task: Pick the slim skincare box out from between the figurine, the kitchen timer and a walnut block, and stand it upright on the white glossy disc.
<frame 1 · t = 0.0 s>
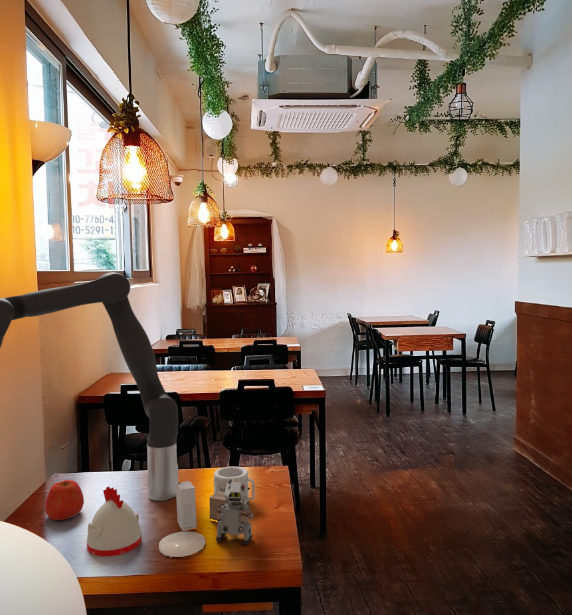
mug: (235, 504, 167), on the table
figurine: (236, 537, 145), on the table
apple: (64, 516, 159), on the table
white glossy disc: (182, 545, 140), on the table
skincare box: (186, 527, 151), on the table
kitchen timer: (114, 543, 142), on the table
walnut block: (221, 518, 156), on the table
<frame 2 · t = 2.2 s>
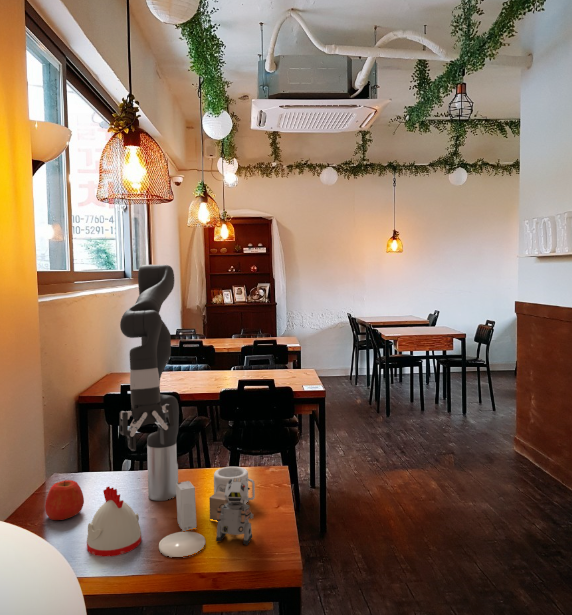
hand: (148, 447, 140), 26 cm above the table, tool pointing down, fingers open, 8 cm apart
nothing on the table moved.
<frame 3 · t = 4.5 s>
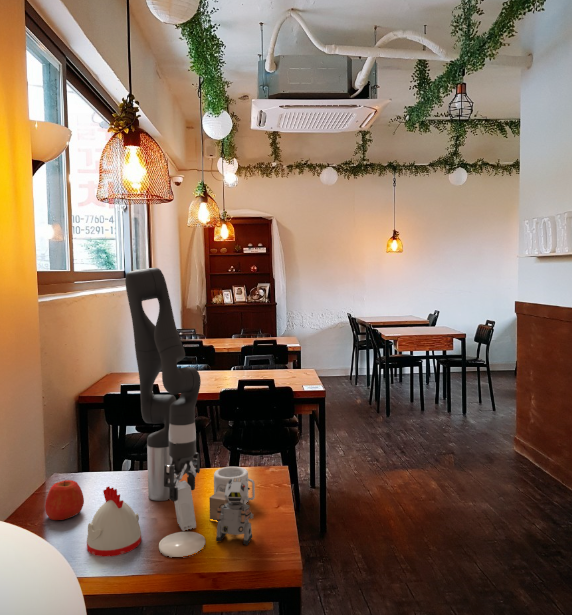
hand: (182, 494, 150), 10 cm above the table, tool pointing down, fingers open, 8 cm apart
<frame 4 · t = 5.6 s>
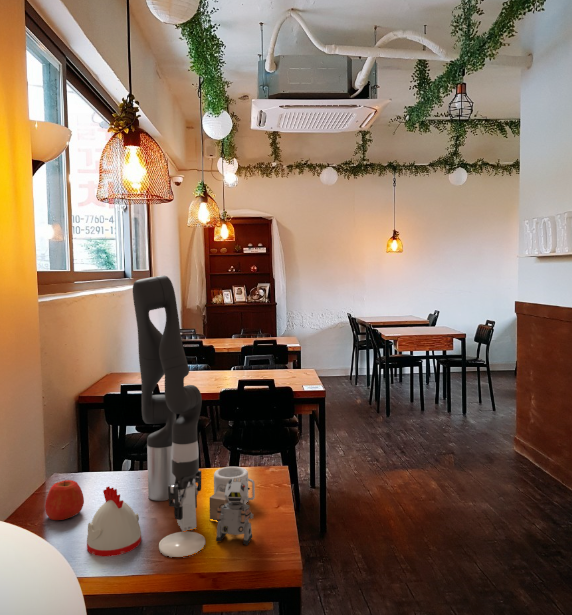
hand: (185, 513, 151), 4 cm above the table, tool pointing down, fingers closed on skincare box, 7 cm apart
skincare box: (186, 527, 151), on the table, touching gripper
everything else where it was.
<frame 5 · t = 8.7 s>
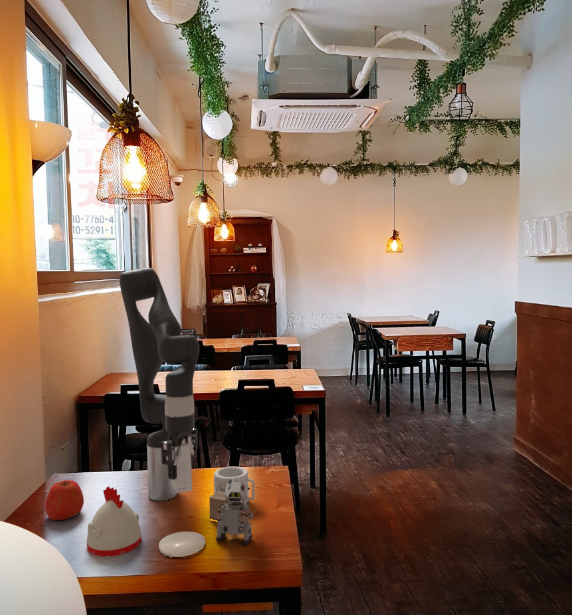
hand: (180, 473, 139), 19 cm above the table, tool pointing down, fingers closed on skincare box, 7 cm apart
skincare box: (181, 488, 139), point 15 cm above the table, touching gripper
everything else where it was.
when the fingers open (6 cm above the table, at t = 12.1 s): skincare box drops 1 cm, resting on white glossy disc.
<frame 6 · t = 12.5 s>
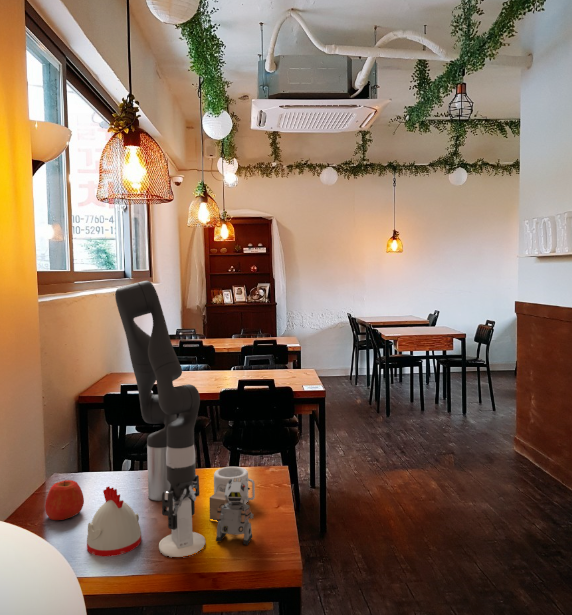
hand: (181, 521, 140), 7 cm above the table, tool pointing down, fingers open, 8 cm apart
skincare box: (181, 543, 140), point 1 cm above the table, touching white glossy disc
everything else where it was.
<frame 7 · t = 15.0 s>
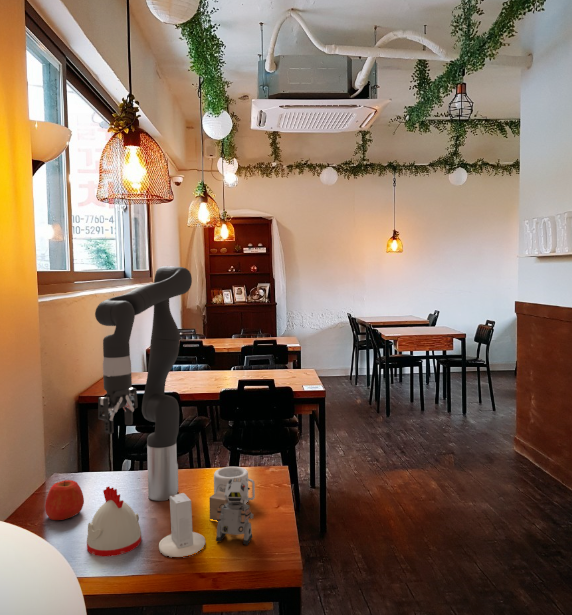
hand: (119, 429, 149), 29 cm above the table, tool pointing down, fingers open, 8 cm apart
nothing on the table moved.
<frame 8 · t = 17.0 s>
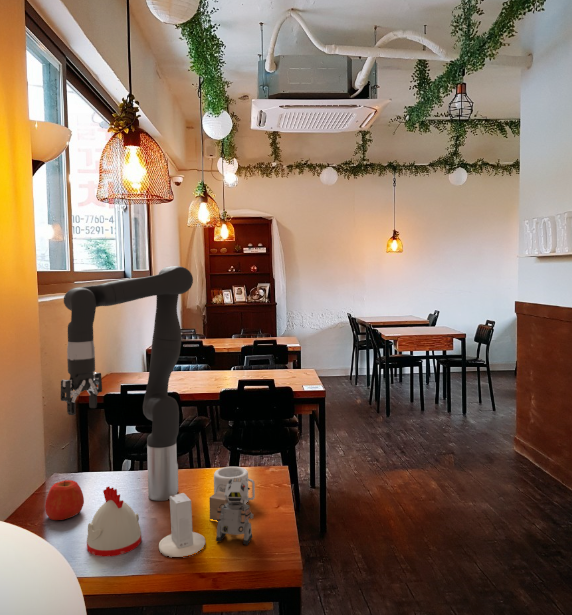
hand: (82, 411, 155), 32 cm above the table, tool pointing down, fingers open, 8 cm apart
nothing on the table moved.
at the end: skincare box inside the target area on the white glossy disc (0.1 cm from its centre), point 0.8 cm above the white glossy disc's base; skincare box tilted 0°; the gripper is holding nothing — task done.
